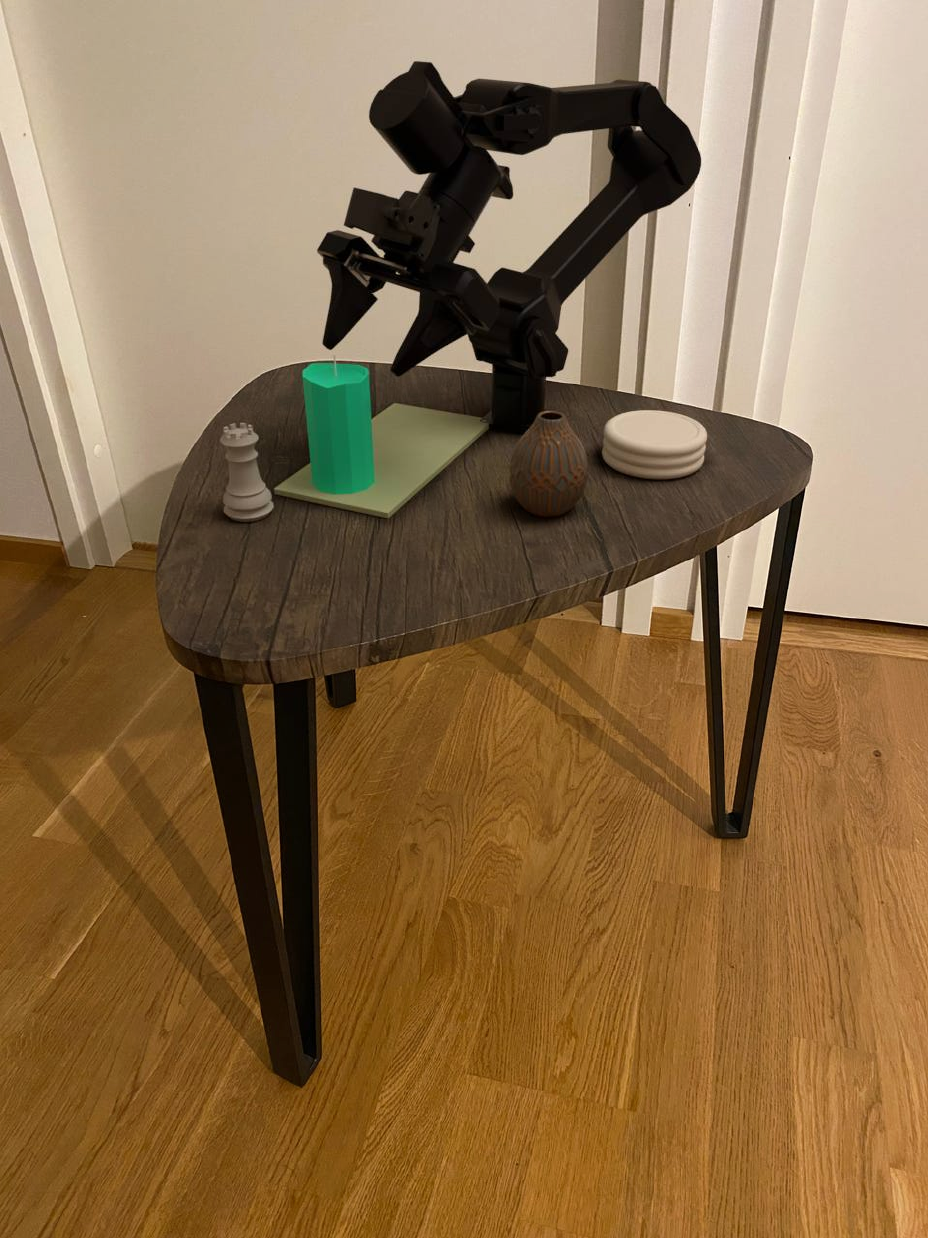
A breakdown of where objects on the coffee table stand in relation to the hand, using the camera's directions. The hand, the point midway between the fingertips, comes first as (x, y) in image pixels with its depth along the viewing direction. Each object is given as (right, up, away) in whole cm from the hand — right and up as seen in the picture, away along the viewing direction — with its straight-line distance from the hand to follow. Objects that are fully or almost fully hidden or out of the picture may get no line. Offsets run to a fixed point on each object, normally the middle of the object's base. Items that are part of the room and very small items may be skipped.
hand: (359, 360), depth 88 cm
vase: (+17, -13, +2) cm, 21 cm away
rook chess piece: (-10, -14, +1) cm, 17 cm away
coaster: (+28, -7, +10) cm, 31 cm away
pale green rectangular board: (+2, -7, +11) cm, 13 cm away
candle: (-2, -10, +5) cm, 11 cm away
